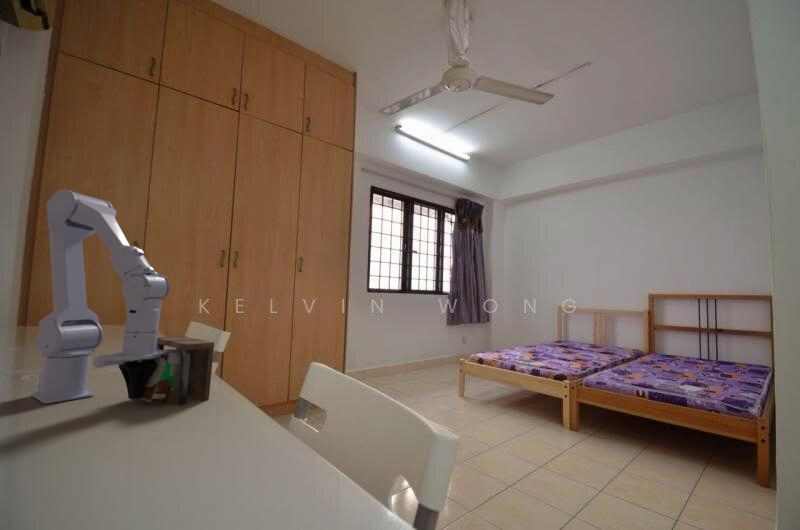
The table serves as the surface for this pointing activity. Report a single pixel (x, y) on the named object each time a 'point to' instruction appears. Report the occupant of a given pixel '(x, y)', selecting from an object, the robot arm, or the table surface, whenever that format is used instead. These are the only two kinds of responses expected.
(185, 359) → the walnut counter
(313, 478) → the table surface
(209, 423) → the table surface
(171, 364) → the food container
